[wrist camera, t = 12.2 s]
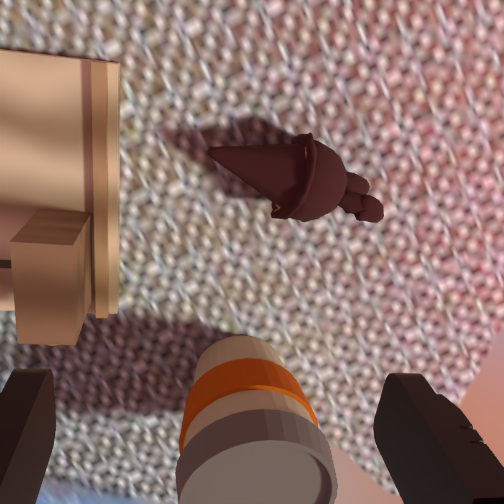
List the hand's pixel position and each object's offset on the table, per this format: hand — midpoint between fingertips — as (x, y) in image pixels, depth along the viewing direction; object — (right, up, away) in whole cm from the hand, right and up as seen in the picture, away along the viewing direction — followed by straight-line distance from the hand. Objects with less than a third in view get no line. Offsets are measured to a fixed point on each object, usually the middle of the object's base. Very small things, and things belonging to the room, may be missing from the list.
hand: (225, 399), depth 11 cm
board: (-17, +9, +27) cm, 33 cm away
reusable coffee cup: (-1, -9, +37) cm, 39 cm away
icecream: (+4, +11, +29) cm, 32 cm away
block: (-15, +3, +28) cm, 32 cm away
